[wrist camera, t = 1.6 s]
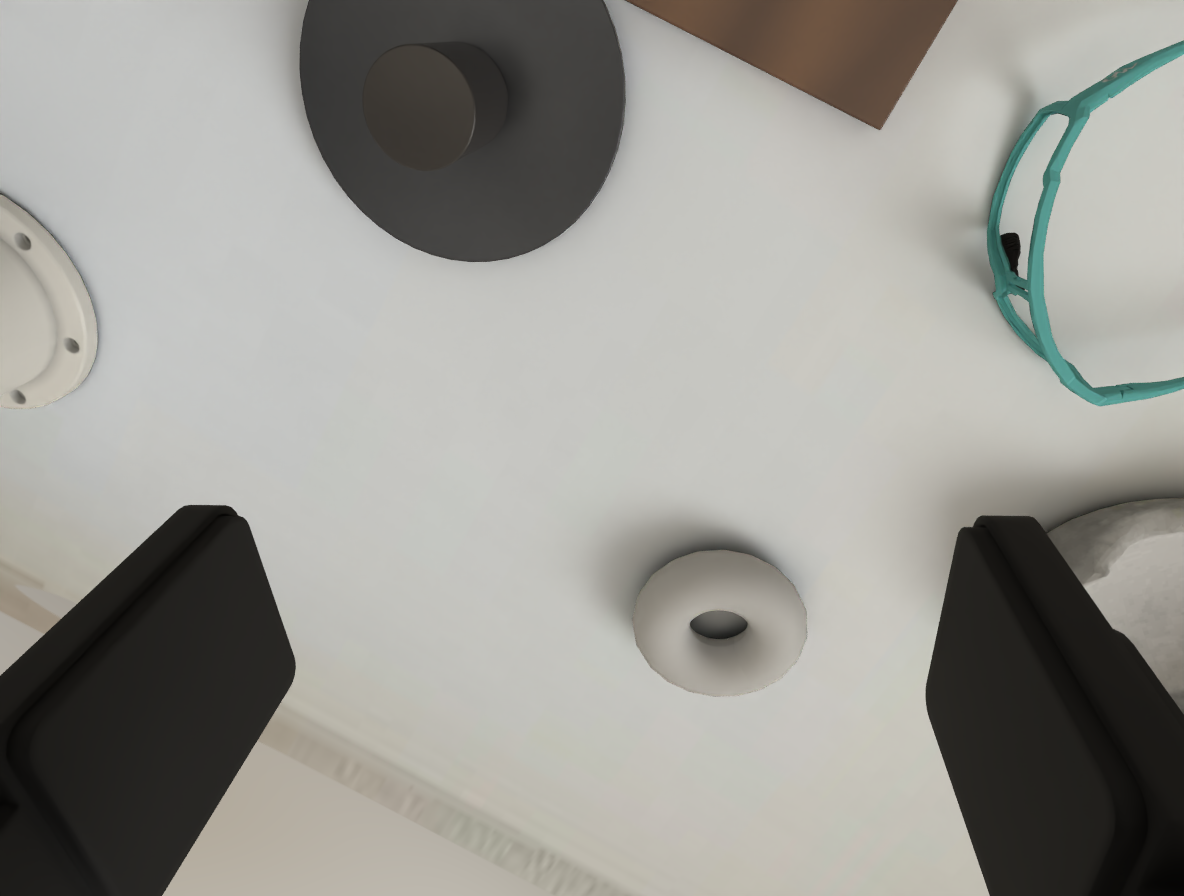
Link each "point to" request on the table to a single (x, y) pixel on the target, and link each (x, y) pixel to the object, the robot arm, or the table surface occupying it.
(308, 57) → the lid
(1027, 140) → the sunglasses
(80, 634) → the robot arm
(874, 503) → the table surface
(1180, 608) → the dish
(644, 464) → the table surface
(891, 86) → the board
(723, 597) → the donut
